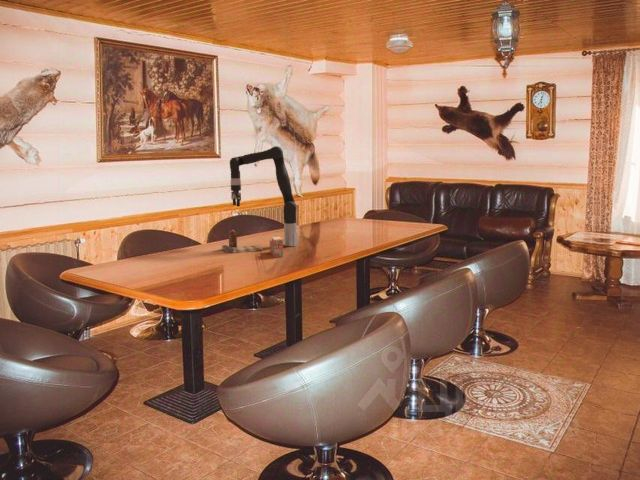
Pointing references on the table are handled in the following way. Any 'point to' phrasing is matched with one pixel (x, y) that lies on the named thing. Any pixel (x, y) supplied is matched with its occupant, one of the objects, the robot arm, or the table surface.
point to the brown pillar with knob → (232, 238)
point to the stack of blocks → (276, 246)
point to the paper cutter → (241, 248)
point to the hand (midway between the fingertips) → (236, 205)
